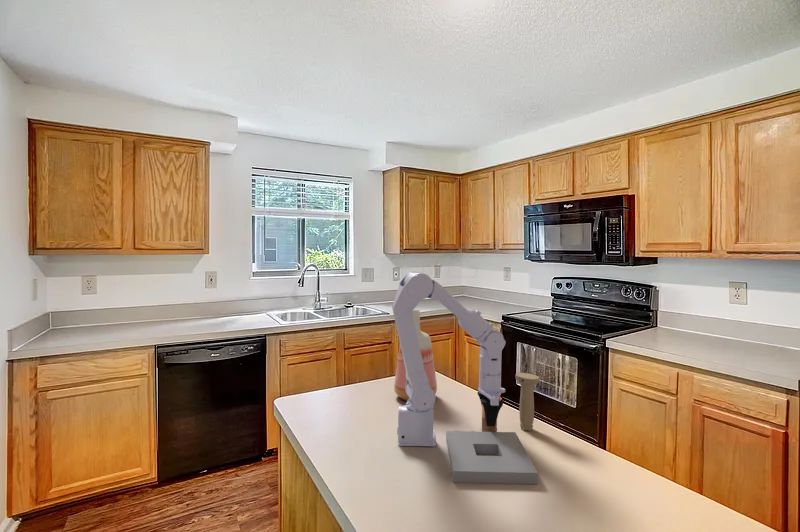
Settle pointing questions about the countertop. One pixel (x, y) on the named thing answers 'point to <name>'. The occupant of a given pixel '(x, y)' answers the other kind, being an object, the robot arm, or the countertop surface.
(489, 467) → the socket plate
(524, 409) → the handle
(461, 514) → the countertop surface
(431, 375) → the vase
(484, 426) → the peg
